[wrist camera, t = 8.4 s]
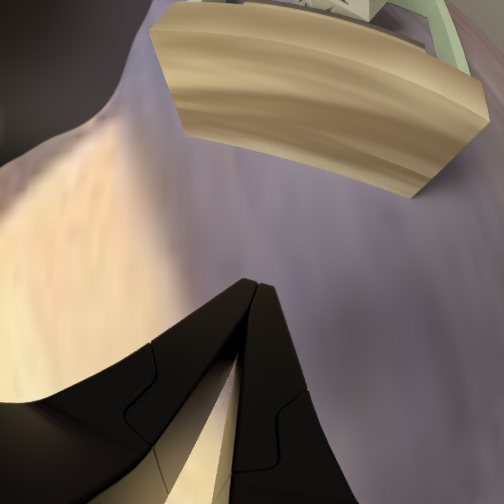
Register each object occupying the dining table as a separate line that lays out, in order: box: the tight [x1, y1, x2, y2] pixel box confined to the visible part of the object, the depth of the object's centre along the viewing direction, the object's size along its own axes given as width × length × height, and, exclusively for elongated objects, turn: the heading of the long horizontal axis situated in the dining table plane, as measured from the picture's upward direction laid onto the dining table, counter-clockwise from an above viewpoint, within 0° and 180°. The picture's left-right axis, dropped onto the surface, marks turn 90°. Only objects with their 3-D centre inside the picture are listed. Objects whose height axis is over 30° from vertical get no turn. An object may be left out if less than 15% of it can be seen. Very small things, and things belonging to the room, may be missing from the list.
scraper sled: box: [149, 0, 490, 199], centre depth 14 cm, size 13×14×8 cm
